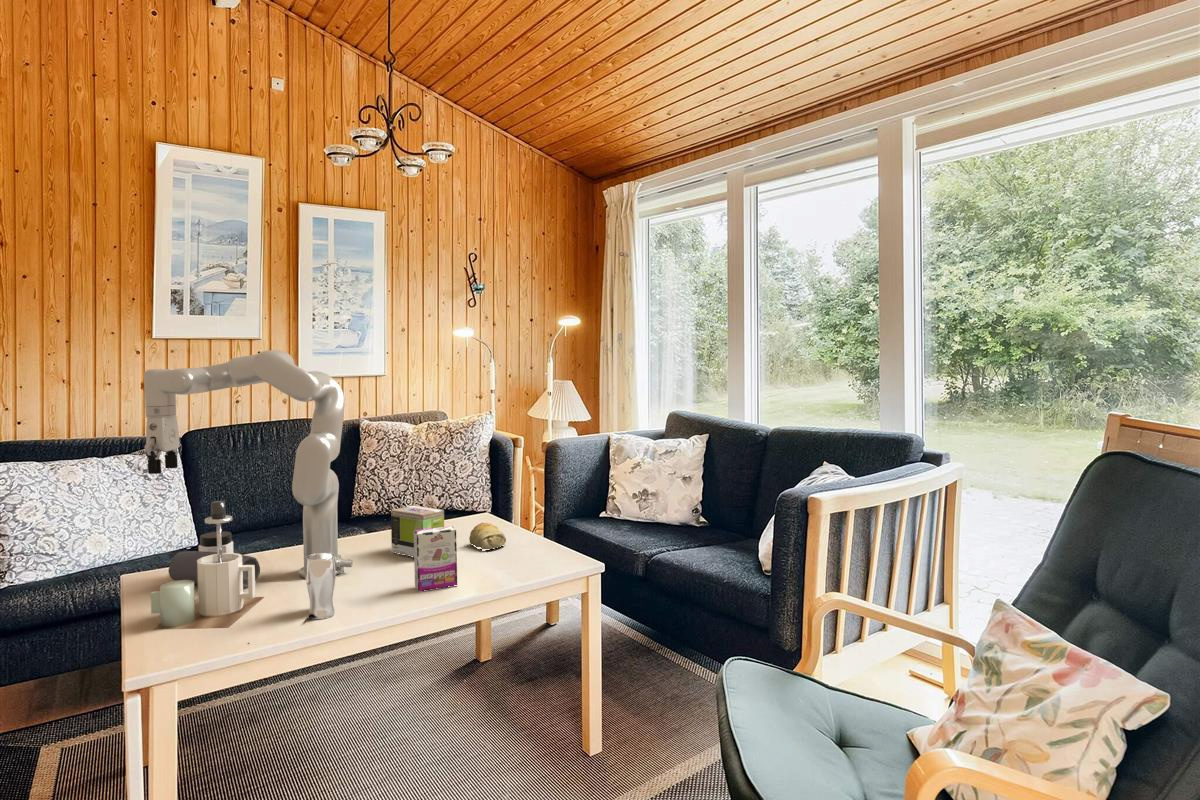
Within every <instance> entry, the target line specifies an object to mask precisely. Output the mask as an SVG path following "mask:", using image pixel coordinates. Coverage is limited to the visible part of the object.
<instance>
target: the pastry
mask: <svg viewBox="0 0 1200 800" xmlns="http://www.w3.org/2000/svg"><path fill="white" fill-rule="evenodd" d="M468 539H469V544H470V543H471V544H473V545H475V546H476V547H481V548H482V549H493V548H497V547H500V546H502V545H504V546H505V544H506V541H507V538H506V537H505V534H504V533H503V532H502V531H501V530H500V529H499V527H498V526H497V525H495V524H493V523H489V522H481V523H478V524H477V525H475V526H474V528H473V529H471V532H470V534H469V537H468ZM471 544H470V545H471ZM497 549H498V548H497Z"/></svg>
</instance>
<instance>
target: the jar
mask: <svg viewBox="0 0 1200 800" xmlns="http://www.w3.org/2000/svg"><path fill="white" fill-rule="evenodd" d="M221 538H222V553H234V541H233V539H232V532H230V531H226V530H225V531H222V530H221ZM198 551H204V552H217V531H211V532H207V533H203V534H200V536H199V545H198Z"/></svg>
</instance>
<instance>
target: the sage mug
mask: <svg viewBox="0 0 1200 800" xmlns="http://www.w3.org/2000/svg"><path fill="white" fill-rule="evenodd" d="M195 596H196V595H195V585H194V581H191V580H178V581H174V580H172V581H169V582H166V583H163V584H161V585H160V586H159V590H158V591H151V592H150V611H151V613H150V614H151V615H152V614H160V624H161V626H163V627H179V626H184V625H187V624H190V623H192V622H193V621H195V600H196V598H195Z"/></svg>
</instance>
